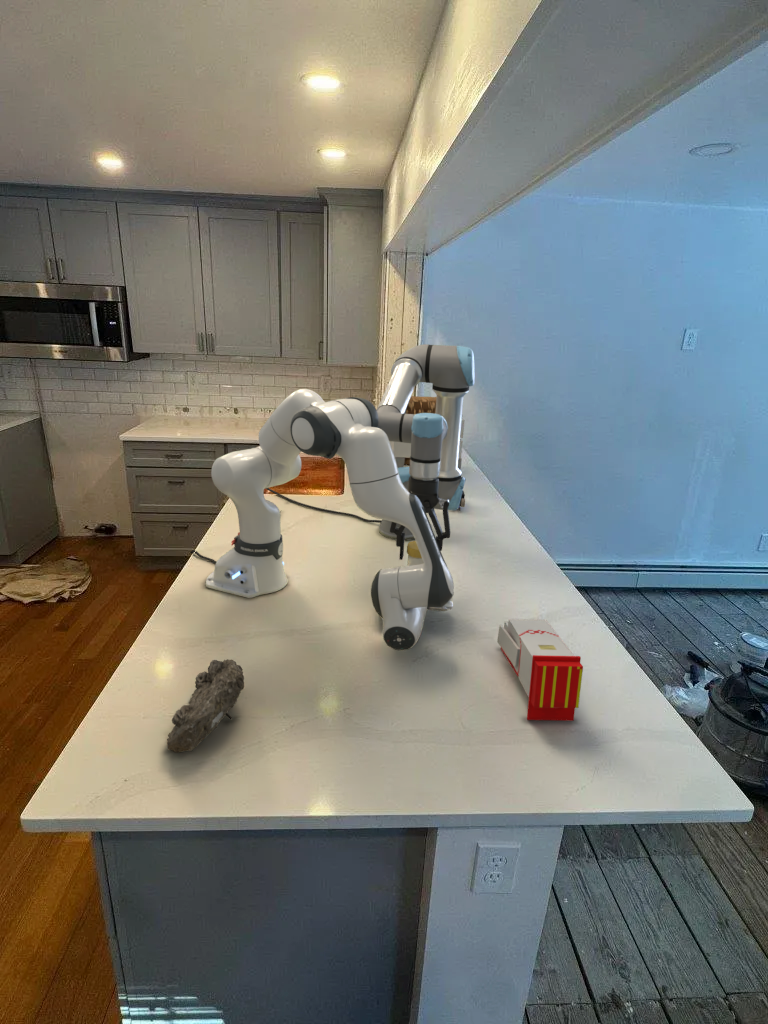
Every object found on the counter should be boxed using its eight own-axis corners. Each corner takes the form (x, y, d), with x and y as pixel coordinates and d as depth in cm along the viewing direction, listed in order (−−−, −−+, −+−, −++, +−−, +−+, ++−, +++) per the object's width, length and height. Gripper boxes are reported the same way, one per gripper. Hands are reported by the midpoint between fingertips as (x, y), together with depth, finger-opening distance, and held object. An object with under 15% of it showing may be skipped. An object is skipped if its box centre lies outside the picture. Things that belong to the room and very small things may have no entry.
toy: (543, 604, 136) (592, 662, 106) (538, 656, 138) (584, 727, 109) (493, 603, 135) (528, 661, 106) (489, 655, 138) (522, 726, 109)
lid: (405, 556, 146) (405, 548, 145) (408, 547, 152) (409, 539, 151) (429, 559, 145) (430, 551, 144) (432, 549, 151) (432, 541, 150)
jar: (415, 596, 157) (419, 541, 152) (429, 604, 153) (434, 548, 148) (400, 601, 154) (404, 546, 148) (414, 610, 150) (418, 553, 144)
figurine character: (465, 515, 224) (460, 499, 237) (467, 498, 221) (462, 483, 234) (448, 515, 224) (444, 499, 237) (450, 498, 220) (445, 482, 234)
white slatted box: (382, 463, 289) (386, 382, 275) (445, 464, 293) (451, 384, 279) (390, 482, 257) (394, 392, 243) (460, 483, 261) (468, 394, 247)
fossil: (192, 660, 117) (244, 628, 112) (224, 691, 120) (276, 661, 115) (142, 746, 98) (202, 712, 93) (182, 779, 101) (242, 748, 96)
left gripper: (452, 599, 137) (456, 574, 149) (370, 588, 140) (380, 565, 153) (450, 622, 139) (454, 596, 152) (369, 611, 142) (379, 586, 155)
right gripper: (466, 475, 143) (458, 557, 151) (384, 469, 146) (381, 549, 154) (466, 484, 136) (458, 569, 144) (380, 477, 139) (376, 561, 147)
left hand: (417, 580), depth 152 cm, fingers closed on jar, 5 cm apart
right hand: (418, 559), depth 149 cm, fingers open, 8 cm apart
